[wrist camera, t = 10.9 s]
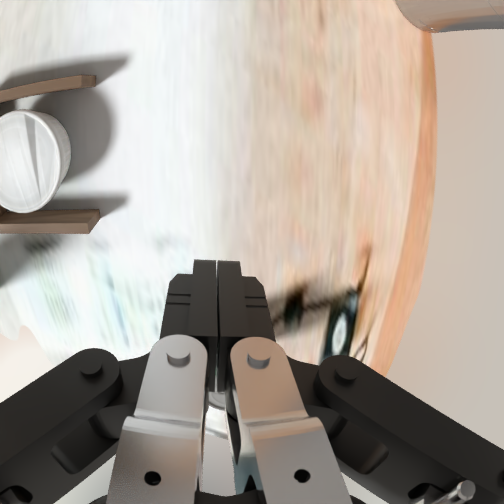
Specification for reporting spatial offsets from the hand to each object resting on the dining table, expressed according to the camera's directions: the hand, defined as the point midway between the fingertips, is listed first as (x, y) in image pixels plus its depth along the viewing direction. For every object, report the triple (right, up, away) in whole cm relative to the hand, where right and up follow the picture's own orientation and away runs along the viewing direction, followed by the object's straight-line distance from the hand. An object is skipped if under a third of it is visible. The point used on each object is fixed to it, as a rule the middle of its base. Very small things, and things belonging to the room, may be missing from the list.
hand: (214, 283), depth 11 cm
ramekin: (-23, +13, +19) cm, 32 cm away
